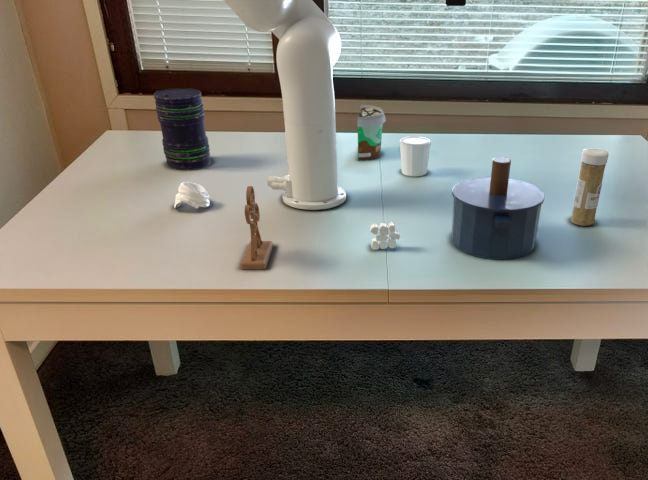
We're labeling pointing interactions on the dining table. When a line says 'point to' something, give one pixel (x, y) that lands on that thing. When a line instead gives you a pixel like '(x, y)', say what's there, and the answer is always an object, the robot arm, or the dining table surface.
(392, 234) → the white marshmallow cluster
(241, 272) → the dining table surface
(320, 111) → the robot arm
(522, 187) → the pot lid
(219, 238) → the dining table surface
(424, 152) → the white cup
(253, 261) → the brown upright openwork piece
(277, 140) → the dining table surface
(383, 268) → the dining table surface
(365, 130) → the food container
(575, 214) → the sprinkles bottle
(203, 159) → the storage jar
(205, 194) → the whipped cream
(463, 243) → the pot
